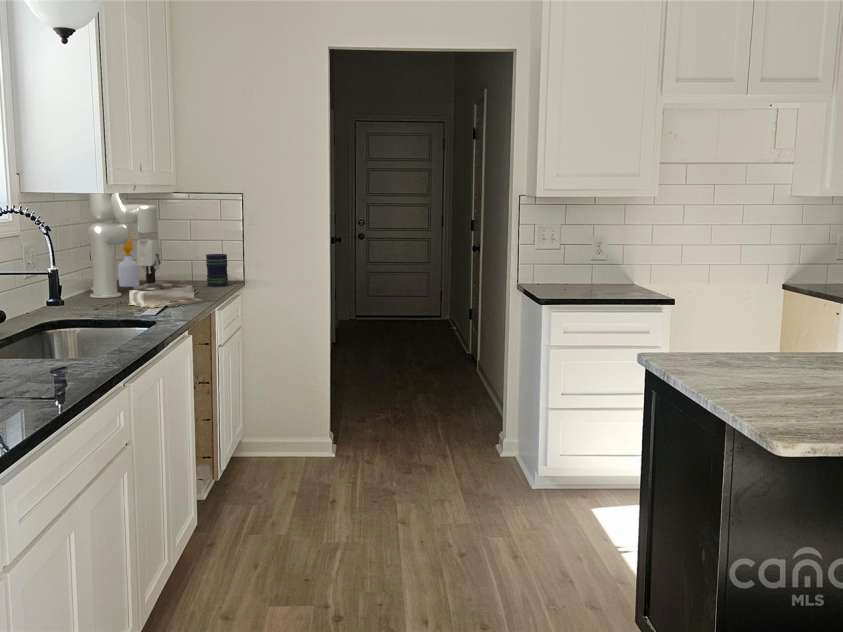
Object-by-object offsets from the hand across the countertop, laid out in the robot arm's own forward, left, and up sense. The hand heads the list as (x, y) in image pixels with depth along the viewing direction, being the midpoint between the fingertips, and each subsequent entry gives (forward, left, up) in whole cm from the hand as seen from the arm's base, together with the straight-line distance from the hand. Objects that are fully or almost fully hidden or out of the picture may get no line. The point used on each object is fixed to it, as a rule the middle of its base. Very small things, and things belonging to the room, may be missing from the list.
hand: (150, 283), depth 339 cm
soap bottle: (-68, +35, -10) cm, 77 cm away
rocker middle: (-4, +8, -2) cm, 9 cm away
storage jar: (-35, +61, -10) cm, 71 cm away
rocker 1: (-4, 0, -2) cm, 5 cm away
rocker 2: (-4, +16, -2) cm, 17 cm away
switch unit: (-2, +8, -9) cm, 12 cm away
